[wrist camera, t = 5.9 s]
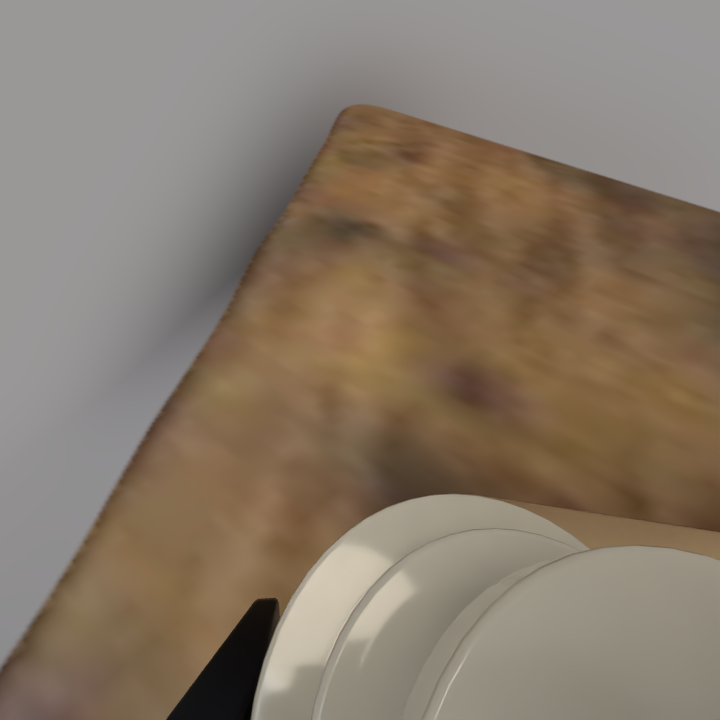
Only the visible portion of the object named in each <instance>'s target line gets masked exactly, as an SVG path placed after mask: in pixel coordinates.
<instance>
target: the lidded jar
mask: <svg viewBox="0 0 720 720" xmlns="http://www.w3.org/2000/svg"><path fill="white" fill-rule="evenodd" d="M250 720H720V560H717V559H714V558H711V557H708V556H705V555H702V554H698V553H693V552H688V551H683V550H679V549H674V548H669V547H659V546H645V545H621V546H607V547H599V548H595V549H589V548H588V547H587V546H585V545H584V544H583V543H582V542H580V541H579V540H578V539H576V538H575V537H574V536H573V535H571V534H570V533H568V532H566V531H565V530H563V529H562V528H560V527H558V526H557V525H555V524H554V523H552V522H550V521H549V520H547V519H545V518H543V517H541V516H539V515H537V514H534V513H532V512H530V511H528V510H526V509H524V508H521V507H518V506H515V505H512V504H510V503H507V502H504V501H501V500H496V499H492V498H487V497H482V496H477V495H465V494H440V495H429V496H424V497H419V498H414V499H409V500H406V501H403V502H400V503H397V504H395V505H392V506H389V507H386V508H384V509H382V510H380V511H378V512H377V513H375V514H373V515H371V516H369V517H367V518H365V519H364V520H362V521H361V522H359V523H358V524H357V525H355V526H354V527H352V528H351V529H350V530H348V531H347V532H345V533H344V534H343V535H342V536H341V537H340V538H339V539H338V540H337V541H335V542H334V543H333V544H332V545H331V546H330V547H329V548H328V549H327V550H326V551H325V552H324V553H323V554H322V555H321V557H320V558H319V559H318V560H317V561H316V563H315V564H314V565H313V566H312V567H311V569H310V570H309V571H308V572H307V574H306V575H305V577H304V578H303V580H302V581H301V583H300V584H299V586H298V587H297V589H296V590H295V592H294V594H293V595H292V597H291V598H290V600H289V602H288V604H287V606H286V608H285V610H284V612H283V614H282V616H281V618H280V620H279V622H278V624H277V626H276V628H275V631H274V634H273V636H272V639H271V642H270V644H269V647H268V650H267V652H266V655H265V658H264V661H263V664H262V668H261V672H260V676H259V680H258V683H257V687H256V691H255V695H254V700H253V706H252V712H251V719H250Z"/></svg>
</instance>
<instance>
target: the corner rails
mask: <svg viewBox="0 0 720 720" xmlns="http://www.w3.org/2000/svg"><path fill="white" fill-rule="evenodd" d="M466 495H474V494H466ZM477 496H481V495H477ZM482 497H487V496H482ZM487 498H492V499H496V500H501V501H504V502H507V503H510V504H512V505H515V506H518V507H521V508H524V509H526V510H528V511H530V512H532V513H534V514H537V515H539V516H541V517H543V518H545V519H547V520H549V521H550V522H552V523H554V524H555V525H557V526H558V527H560V528H562V529H563V530H565V531H566V532H568V533H570V534H571V535H573V536H574V537H575V538H576V539H578V540H579V541H580V542H582V543H583V544H584V545H585V546H587V547H588V548H589V549H595V548H599V547H607V546H621V545H645V546H659V547H669V548H674V549H679V550H683V551H688V552H693V553H698V554H702V555H705V556H708V557H711V558H714V559H717V560H720V532H716V531H710V530H703V529H697V528H690V527H684V526H677V525H671V524H664V523H657V522H651V521H644V520H638V519H631V518H625V517H618V516H612V515H605V514H598V513H592V512H585V511H579V510H572V509H566V508H559V507H553V506H546V505H540V504H533V503H526V502H520V501H513V500H507V499H500V498H494V497H487Z"/></svg>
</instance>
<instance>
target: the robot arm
mask: <svg viewBox="0 0 720 720" xmlns="http://www.w3.org/2000/svg"><path fill="white" fill-rule="evenodd" d="M279 620H280V617H279V602H278V600H277V599H276V598H265V599H257V600H256V601H255V602H254V603H253V604H252V606H251V607H250V608H249V610H248V611H247V612H246V614H245V615H244V616H243V618H242V619H241V620H240V622H239V623H238V624H237V626H236V627H235V628H234V630H233V631H232V632H231V634H230V635H229V636H228V638H227V639H226V640H225V642H224V643H223V644H222V646H221V647H220V648H219V650H218V651H217V652H216V654H215V655H214V656H213V658H212V659H211V660H210V662H209V663H208V664H207V666H206V667H205V668H204V670H203V671H202V672H201V674H200V675H199V676H198V678H197V679H196V680H195V682H194V683H193V684H192V686H191V687H190V688H189V690H188V691H187V692H186V694H185V695H184V696H183V698H182V699H181V700H180V702H179V703H178V704H177V706H176V707H175V708H174V710H173V711H172V712H171V714H170V715H169V716H168V718H167V719H166V720H250V719H251V712H252V706H253V700H254V695H255V691H256V687H257V683H258V680H259V676H260V672H261V668H262V664H263V661H264V658H265V655H266V652H267V650H268V647H269V644H270V642H271V639H272V636H273V634H274V631H275V628H276V626H277V624H278V622H279Z"/></svg>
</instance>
